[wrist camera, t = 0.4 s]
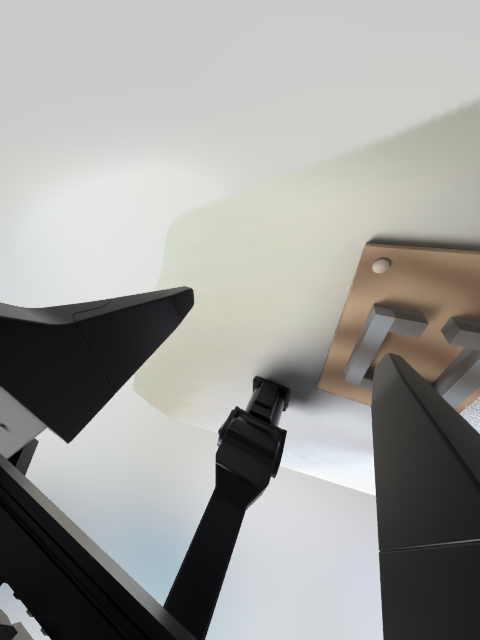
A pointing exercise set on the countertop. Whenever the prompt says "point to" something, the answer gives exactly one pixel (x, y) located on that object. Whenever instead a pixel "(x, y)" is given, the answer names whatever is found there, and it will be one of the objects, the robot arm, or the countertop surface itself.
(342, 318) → the chassis board
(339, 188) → the countertop surface
